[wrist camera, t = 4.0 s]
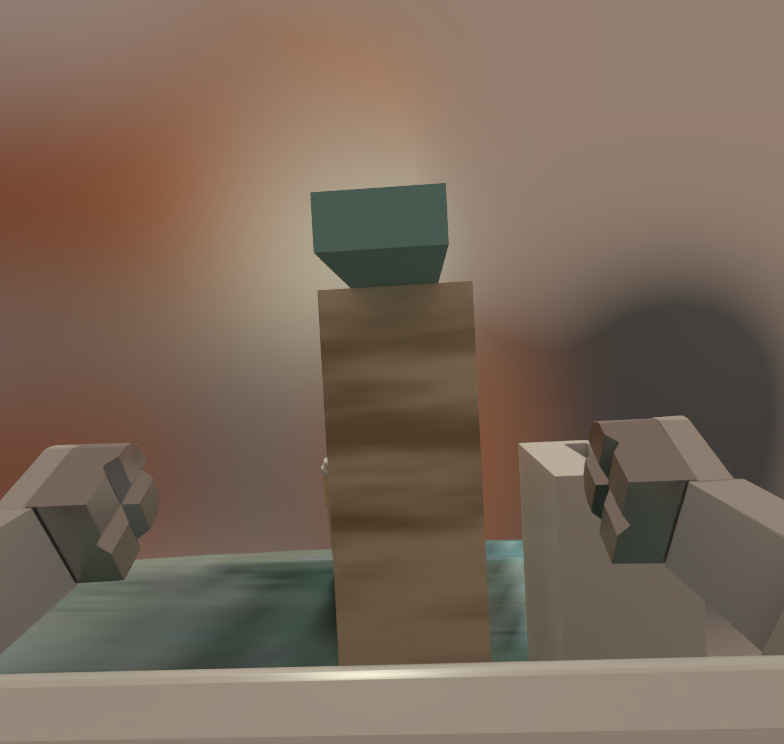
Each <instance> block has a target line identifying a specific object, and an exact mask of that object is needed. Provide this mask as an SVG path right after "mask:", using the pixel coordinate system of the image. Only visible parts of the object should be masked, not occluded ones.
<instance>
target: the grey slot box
mask: <svg viewBox="0 0 784 744" xmlns="http://www.w3.org/2000/svg"><path fill="white" fill-rule="evenodd" d="M592 452H593V450H592V448H591V446H590V444H589V441H588V440H581V441H559V442H538V443H537V442H536V443H519V465H520V485H521V486H520V487H521V509H522V529H523V552H524V573H525V595H526V616H527V638H528V659H529V661H563V660H603V659H644V658H684V657H707V651H706V624H705V601H704V600H703V599H702V598H700V597H699V596H698V595H697V594H696V593H695V592H694V591H692V590H691V589H690V588H689V587H688V586H687V585H686V584H685V583H683V582H682V581H681V580H680V579H679V578H678V577H677V576H675V575H674V574H673V573H672V572H671V571H670V570H669V569H667V568H666V567H665V563H654V564H612V563H611V560H610V558H609V555H608V553H607V550H606V548H605V545H604V543H603V540H602V538H601V535H600V533H599V530H600V525H601V519H600V518H599V517H597V516H596V515H594V514H593V513H592V512H591V510H590V507H589V505H588V502H587V498H586V494H585V490H584V476H583V474H584V465H585V459H586V458H587V457H588V456H589V455H590V454H591V453H592Z"/></svg>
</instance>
